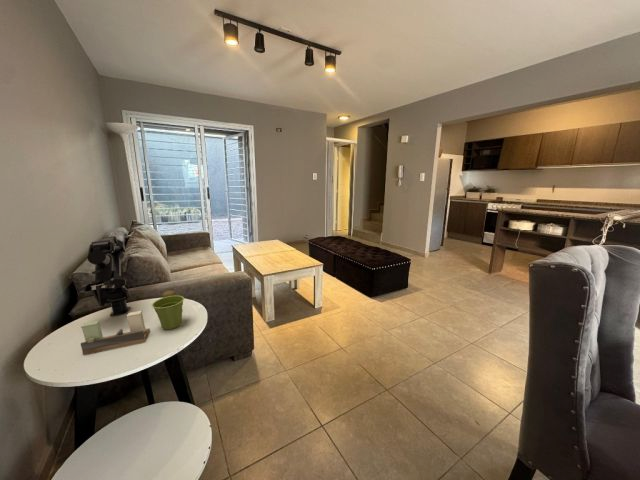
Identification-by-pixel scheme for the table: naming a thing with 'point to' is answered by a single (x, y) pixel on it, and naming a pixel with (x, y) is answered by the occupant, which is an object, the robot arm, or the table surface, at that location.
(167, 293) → the cork
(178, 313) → the plant pot
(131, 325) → the beige rectangular block
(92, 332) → the pale green tall block
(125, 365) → the table surface
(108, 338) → the brown wooden rack
